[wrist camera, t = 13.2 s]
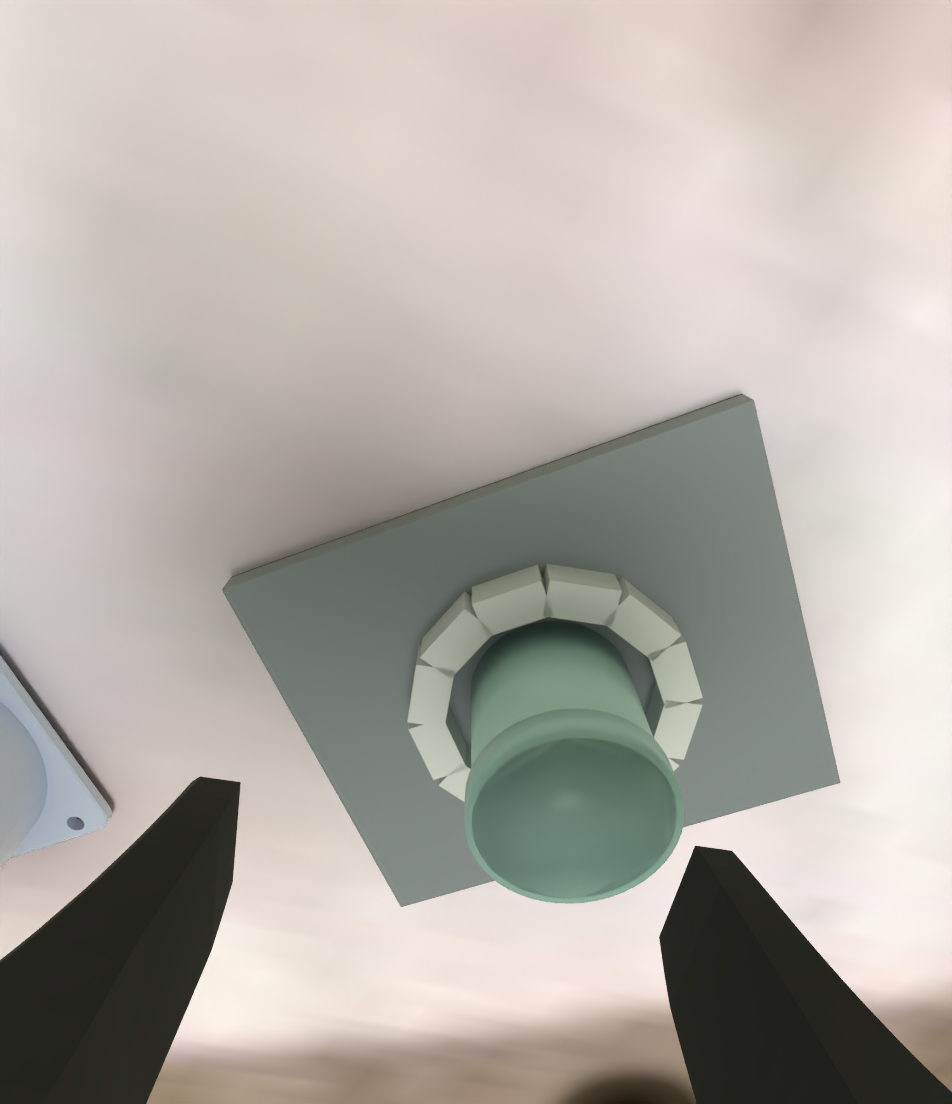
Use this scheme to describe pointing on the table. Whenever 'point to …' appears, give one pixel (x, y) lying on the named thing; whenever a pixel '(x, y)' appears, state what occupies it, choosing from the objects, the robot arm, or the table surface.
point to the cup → (565, 769)
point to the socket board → (540, 596)
